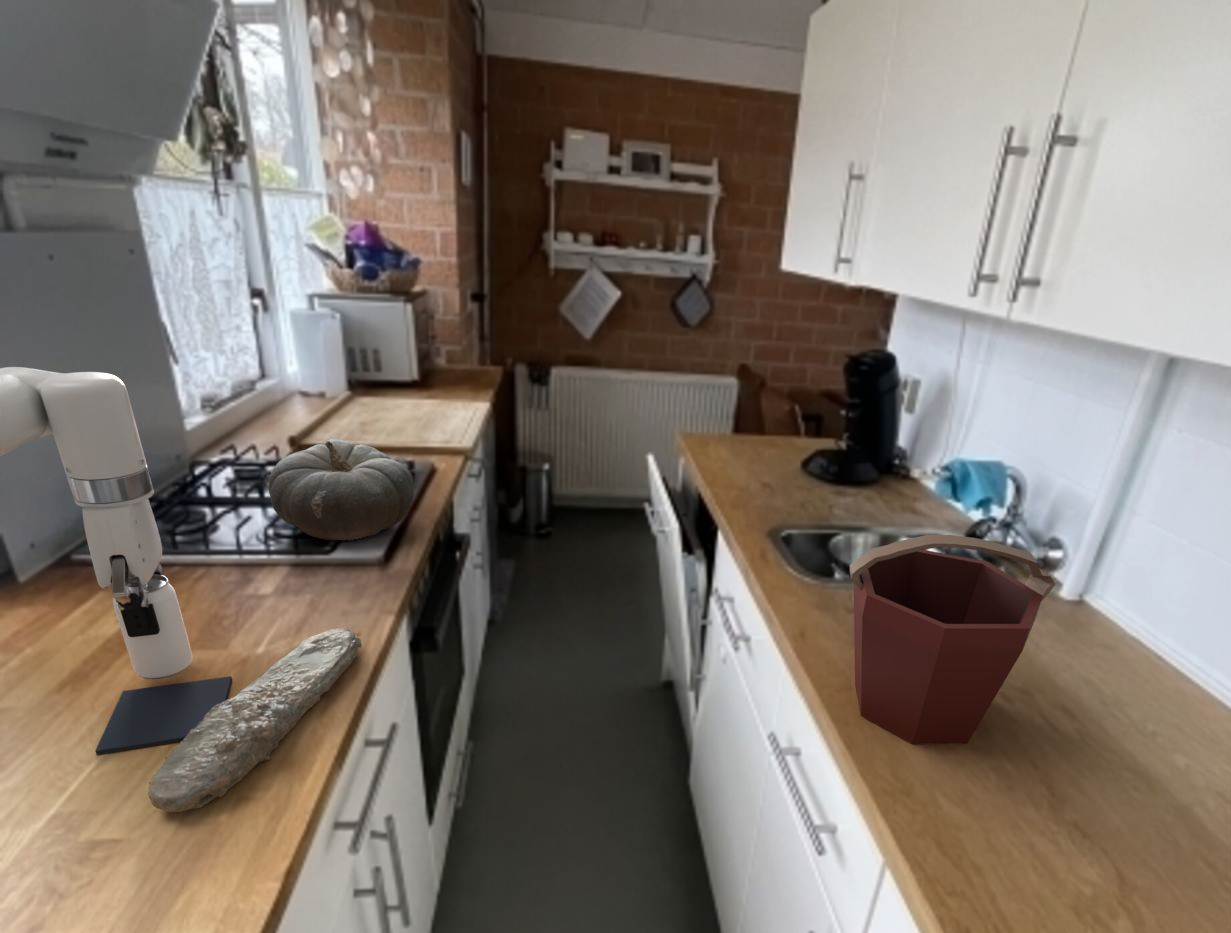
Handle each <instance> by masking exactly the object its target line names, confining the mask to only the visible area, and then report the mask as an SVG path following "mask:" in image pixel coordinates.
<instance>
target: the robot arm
mask: <svg viewBox="0 0 1231 933" xmlns="http://www.w3.org/2000/svg"><path fill="white" fill-rule="evenodd" d="M51 434H52V435H53V438H54V441H55V444H56V447H57V450H58V453H59V457H60V461H61V463H62V467H63V469H64V473H65V475H66V478H67V481H68V485H69V488H70V491H71V494H72V497H73V501H74V503H75V505H77V506H79V507H81V512H82V522H83V527H84V533H85V538H86V542H87V546H88V550H89V554H90V558H91V562H92V566H93V571H94V573H95V574H94V575H95V577H96V581H97V584H98V586H99V587H100V588H101V589H108V588H110V587H111V595H112V599H113V598H114V599H116V602H118V607H119V610H120V611H121V614H122V618H123V621H124V624H125V627H126V630H127V634H128V636H129V637H139V636H148V635H156V634H158V633H159V631H160V628H159V624H158V621H157V617H156V614H155V610H154V607H153V603H152V604H149V601H148V594H147V587H146V583H147V582H148V581H149V580H150V579H151V577H152V576H153V574H157V575H162V576H165V575H164V569H163V566H162V564H161V559H162V557H163V545H162V540H161V536H160V532H159V529H158V525H157V521H156V517H155V515H154V512H153V509H152V506H151V504H150V498H151V497H153V495H154V494H155V490H154V486H153V482H152V478H151V475H150V472H149V468H148V464H147V460H146V456H145V452H144V448H143V444H142V441H141V437H140V433H139V429H138V426H137V422H136V418H135V414H134V411H133V408H132V403H131V400H130V396H129V392H128V389H127V387H126V385H125V383H124V382H123V381H122V380H121V378H119V377H118V376H116V375H114V374H111V373H107V372H100V371H77V372H67V373H64V372H63V373H62V372H57V371H49V370H44V369H37V368H31V367H23V366H22V367H21V366H8V367H0V457H2V456H4V455H7V454H9V453H11V452H13V451H15V450H17V449H18V448H21V447H22V446H24V445H26V444H28V443H30V442H32V441H35V440H38V439H41V438H43V437H46V436H49V435H51ZM131 577H138V578H139V581H138V582H128V578H131ZM129 587H138V589H139V596H140V597H139V596H138V595H137V594H136V593H131V591H130V590H129Z"/></svg>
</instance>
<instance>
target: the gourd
mask: <svg viewBox="0 0 1231 933" xmlns="http://www.w3.org/2000/svg"><path fill="white" fill-rule="evenodd" d="M414 486H415V482H414V477H413V475H412V473H411V471H410V469H408V467H407V466H406V465H404V464H403V463H401V462H399V461H398V460H395V459H392V458H391V457H390V456H389V455H388V454H386V453H384V452H382V451H380V450H378V449H377V448H375V447H372V446H369V445H366V444H356V443H354V442H352V441H349V440H341V439H338V438H331V439H328V440H326V441H325V442H324V443H323V444H322V443H318V444H314V445H313V446H310V447H308V448H306V449H303V450H299V451H297V452H294V453H293V452H292V453H291V454H289V455H286V456H285V457H284V458H282V459H280V460H279V461H278V462H276V464H275V466H274V467H273V469H272V470H271V472H270V474H269V480H268V494H269V497H270V504H271V506H272V509H273V510H274V511H275V513H276V515H277V516H278V517H279V518H280V519H281V520H282V521H284V522H285V523H286V524H288V525H291V526H292V527H295V528H297V527H298V528H297V529H299V530H300V531H302V533H305V534H306V535H308V536H310V537H313V538H316V537H317V539H321V540H323V539H324V541H333V540H348V541H355V540H354V539H356V540H359V539H358V538H360V539H363V537H364V538H367V537H372V536H374V535H376V534H378V533H379V532H381V531H382V530H386V529H385V528H388V529H390V528H393V527H394V526H397V524H399V523H400V522H401V521H403V519H404V518H405V517H406V515H408V513H409V511H410V508H411V505H412V502H413V500H414V496H415V495H414V494H415V493H414V488H415V487H414ZM371 535H372V536H371ZM366 536H367V537H366Z"/></svg>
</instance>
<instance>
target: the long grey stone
mask: <svg viewBox="0 0 1231 933" xmlns="http://www.w3.org/2000/svg"><path fill="white" fill-rule="evenodd" d="M359 648H363V644H362V640H361V638H359V637H356V632H354V631H351V630H350V629H349V628H348V627H343V628H339V627H336V628H331V629H328V630H326V631H323V632H320V633H317V634H314V635H312V636H309V637H307V638H306V639H304V640H302V641H301V642H300V643H298V645H297V646H296V647H295V648H294V649H293V650H291V651H289V653H287V654H285V656H283V657H281V658H280V659H278V660H277V661H276V662H274V663H273V664H272V665H270V666H269V667H268V668H267V669H266V670H265V672H263V673H262V674H261V675H260V676H259V677H257V678H256V679H254V680H253V681H252V682H250V683H249V684H247V686H245V687H243V688H241V689H240V690H238V692H236V694H235V695H234V696H233V697H231V698H228V699H227V700H225V701H223V702H222V703H220V704H217V705H216V706H214V707H212V708H211V710H210V711H209V712H208V713H207V714H206V715H205V716H204V717H203V720H202V721H201V722H199V724H198V725H197V726H196V727H195V728H194V729H191V730H190V732H189V734H187V736H186V737H185V738H184V739H183V740H182V741H181V742H179V744H178V745H177V746H176V747H175V749H174V750H173V749H172V751H171V752H170V753H168V755H166V756H165V761H164V762H163V763H162V765H161V766H160V767H159V768H158V769H157V771H156V772H155V774H154V776H153V777H152V778H151V780H150V781H149V783H148V784H149V786H148V793H147V796H148V798H149V801H150V802H151V805H152V806H153V807H155V808H156V809H158V810H161V811H165V812H168V813H169V812H170V813H176V812H185V811H188V810H192V809H199V808H203V806H204V805H207V804H209V802H211V801H213V800H214V799H215V798H217V797H218V798H221V797H223V796H224V795H226V793H227V791H228V790H230V789H231V788H232V787H233V786H235V785H236V784H237V783H239V782H241V781H242V780H243V779H244V778H245V777H246V776H247V775H248V773H249V772H250V771H252V770H253V769H254V767H255V766H256V765H258V763H262V762H266V761H269V760H271V752H273V751H274V750H275V749H277V748H278V746H279V745H278V744H279V742H280V741H281V740H282V739H283V738H285V736H287V734H288V733H290V732H291V730H292V729H294V728H295V726H297V724H298V723H299V720H301V718H302V716H303V715H305V713H306V712H307V711H308V710H309V709H311V708H312V707H313V706H314V705H316V703H318V702H319V701H321V696H322V695H323V694H324V693H327V692H329V691H330V690H331V688H332V686H333V685H334V684H335V683H336V681H337V680H339V678H340V676H341V675H342V674H343V673H344V672H346V670H347V669H348V668H349V667H350V666H351V665H352V663H353V662H354V661H353V660H354V659H357V653H358V651H359V650H358V649H359Z"/></svg>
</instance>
